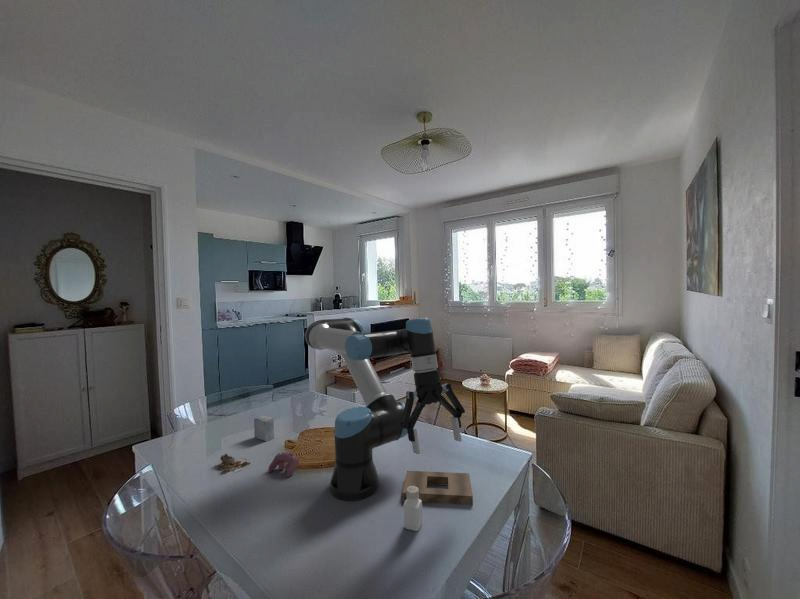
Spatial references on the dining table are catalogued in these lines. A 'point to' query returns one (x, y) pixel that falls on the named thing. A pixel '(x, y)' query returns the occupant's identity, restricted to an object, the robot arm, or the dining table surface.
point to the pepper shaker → (412, 509)
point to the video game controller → (281, 460)
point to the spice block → (455, 493)
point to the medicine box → (264, 428)
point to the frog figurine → (232, 464)
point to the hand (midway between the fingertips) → (438, 446)
